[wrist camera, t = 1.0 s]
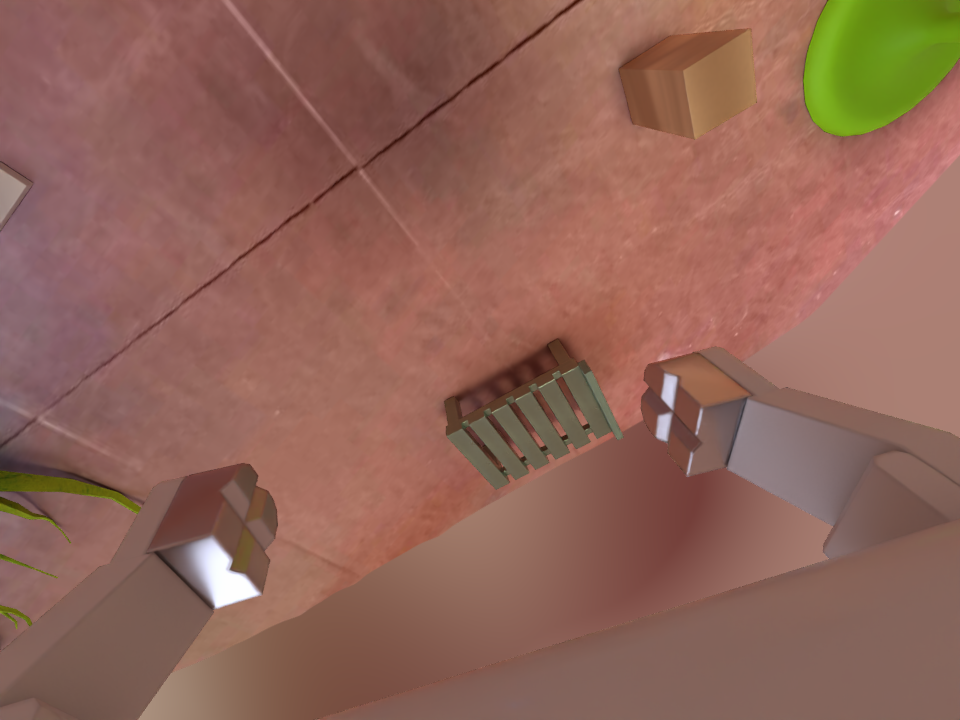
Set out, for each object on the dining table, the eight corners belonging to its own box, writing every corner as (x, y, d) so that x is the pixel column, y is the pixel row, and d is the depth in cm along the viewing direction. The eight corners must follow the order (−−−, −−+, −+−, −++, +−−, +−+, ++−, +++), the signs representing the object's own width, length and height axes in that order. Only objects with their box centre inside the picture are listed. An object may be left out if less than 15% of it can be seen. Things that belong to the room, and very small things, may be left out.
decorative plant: (85, 566, 55) (3, 703, 43) (-188, 413, 37) (-453, 577, 25) (214, 525, 55) (168, 651, 43) (3, 352, 37) (-174, 488, 25)
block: (632, 124, 36) (695, 139, 29) (618, 68, 33) (682, 70, 26) (681, 94, 35) (757, 102, 28) (670, 35, 33) (751, 27, 26)
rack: (565, 331, 47) (591, 370, 41) (597, 396, 54) (624, 437, 48) (440, 400, 50) (448, 447, 44) (486, 454, 57) (498, 500, 51)
